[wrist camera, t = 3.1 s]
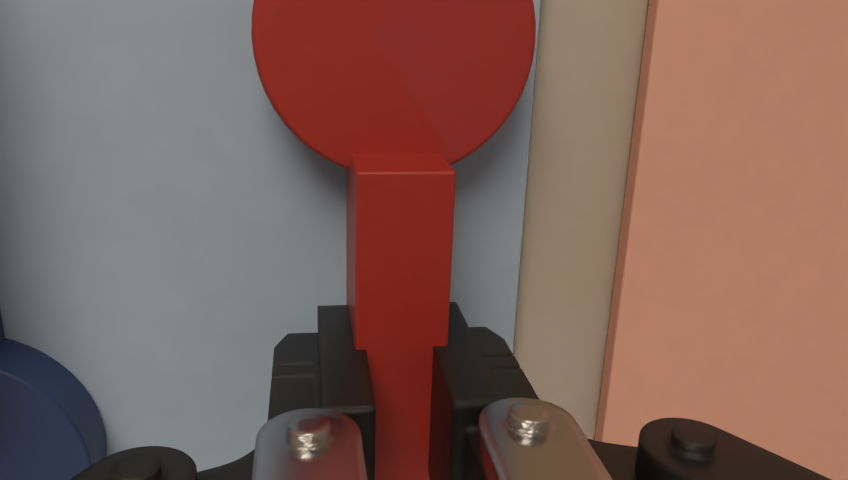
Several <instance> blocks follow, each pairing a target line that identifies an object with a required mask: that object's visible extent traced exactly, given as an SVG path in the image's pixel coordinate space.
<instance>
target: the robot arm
mask: <svg viewBox="0 0 848 480" xmlns="http://www.w3.org/2000/svg"><path fill="white" fill-rule="evenodd" d="M317 315H318V333H290V334H287V335H286V336H285V337H284V338H283V339H282V340H281V341H280V342H279V343H278V344H277V345H276V346H275V347H274V355H273V367H272V380H271V388H270V400H269V411H268V422H266V423H265V424H264V425H263V426H262V427H261V428H260V430H259V431H258V433H257V436H256V441H255V449H254V450H252V451H251V452H250V453H248V454H247V455H245V456H243V457H241V458H240V459H238V460H235V461H233V462H231V463H228V464H225V465H222V466H218V467H215V468H211V469H207V470H203V471H200V472H197V468H196V464H195V462H194V460H193V459H192V458H191V457H190V456H189V455H187V454H186V453H184V452H182V451H180V450H178V449H174V448H170V447H164V446H144V447H136V448H131V449H127V450H123V451H120V452H117V453H114V454H111V455H109V456H107V457H105V458H103V459H101V460H99V461H97V462H96V463H94V464H93V465H91V466H90V467H88V468H87V469H85V470H84V471H82V472H80V473H79V474H77V475H76V476H74V477H73V478H71V479H70V480H375V424H376V406H375V400H374V394H373V388H372V383H371V377H370V371H369V365H368V359H367V353H366V349H365V350H357V349H355V345H354V338H353V332H352V326H351V320H350V314H349V307H348V305H324V306H317ZM428 473H429V477H430V480H832V479H829V478H827V477H825V476H823V475H821V474H818V473H816V472H814V471H812V470H810V469H807V468H805V467H803V466H801V465H799V464H796V463H794V462H792V461H790V460H788V459H785V458H783V457H781V456H779V455H777V454H774V453H772V452H770V451H768V450H766V449H763V448H761V447H759V446H757V445H755V444H752V443H750V442H748V441H746V440H744V439H741V438H739V437H737V436H735V435H733V434H730V433H728V432H726V431H724V430H722V429H719V428H717V427H715V426H712V425H710V424H707V423H704V422H701V421H697V420H692V419H686V418H661V419H657V420H653V421H651V422H649V423H647V424H646V425H644V426H643V427H642V429H641V430H640V434H639V440H638V447H634V446H626V445H619V444H612V443H605V442H599V441H594V440H590V439H587V438H586V436H585V435H584V433H583V431H582V430H581V428H580V427H579V425H578V423H577V422H576V420H575V419H574V418H573V417H572V416H571V415H570V414H569V413H568V412H567V411H565V410H564V409H562V408H560V407H558V406H556V405H554V404H552V403H549V402H546V401H542V400H539V398H538V397H537V395H536V393H535V391H534V390H533V388H532V386H531V384H530V383H529V381H528V379H527V378H526V376H525V374H524V372H523V371H522V369H520V366H519V364H518V362H517V360H516V359H515V357H514V356H513V353H512V352H511V350H510V348H509V347H508V345H507V343H506V341H505V340H504V339H503V338H502V337H500V336H499V335H497V334H496V333H494V332H493V331H491V330H490V329H488V328H487V327H468V325H467V323H466V321H465V319H464V317H463V315H462V313H461V311H460V309H459V307H458V304H457V303H456V302H450V309H449V329H448V345H447V346H435V347H433V363H432V387H431V410H430V434H429V457H428Z"/></svg>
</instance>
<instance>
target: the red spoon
mask: <svg viewBox="0 0 848 480" xmlns="http://www.w3.org/2000/svg"><path fill="white" fill-rule="evenodd" d="M251 36H252V46H253V55H254V59H255V63H256V67H257V72H258V75H259V78H260V80H261V83H262V86H263V88H264V91H265V93H266V95H267V97H268V99H269V101H270V103H271V104H272V106H273V108H274V110H275V111H276V113H277V114H278V115H279V117H280V118H281V120H282V121H283V123H284V124H285V125H286V126H287V127H288V128H289V130H290V131H291V132H292V133H293V134H294V135H295V136H296V137H297V138H298V139H299V140H300V141H301V142H302V143H304V144H305V145H306V146H307V147H308V148H310V149H311V150H312V151H314V152H315V153H317V154H318V155H320V156H321V157H323V158H324V159H326V160H328V161H330V162H332V163H334V164H336V165H338V166H340V167H342V168H345V169H346V305H348V307H349V314H350V320H351V326H352V332H353V338H354V345H355V349H357V350H365V349H366V353H367V359H368V365H369V371H370V377H371V383H372V388H373V394H374V400H375V406H376V424H375V480H430V477H429V473H428V457H429V434H430V410H431V387H432V363H433V347H435V346H447V345H448V329H449V309H450V288H451V268H452V248H453V227H454V207H455V187H456V172H455V171H454V170H453V169H452V167H451V166H450V165H452V164H454V163H457V162H459V161H461V160H462V159H464V158H466V157H467V156H469V155H470V154H472V153H473V152H475V151H476V150H478V149H479V148H480V147H481V146H482V145H483V144H485V143H486V142H487V141H488V140H489V139H490V138H491V137H492V136H493V135H494V134H495V133H496V132H497V131H498V130H499V129H500V128H501V127H502V125H503V124H504V123H505V121H506V120H507V118H508V117H509V116H510V114H511V113H512V111H513V110H514V108H515V106H516V104H517V102H518V101H519V99H520V97H521V95H522V92H523V90H524V87H525V85H526V82H527V80H528V77H529V73H530V70H531V66H532V62H533V56H534V49H535V42H536V19H535V9H534V2H533V0H254V3H253V10H252V26H251Z"/></svg>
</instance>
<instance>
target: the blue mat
mask: <svg viewBox="0 0 848 480" xmlns="http://www.w3.org/2000/svg"><path fill="white" fill-rule="evenodd" d="M533 2H534V9H535V19H536V42H535V49H534V56H533V62H532V66H531V70H530V73H529V77H528V80H527V82H526V85H525V87H524V90H523V92H522V95H521V97H520V99H519V101H518V102H517V104H516V106H515V108H514V110H513V111H512V113H511V114H510V116H509V117H508V118H507V120H506V121H505V123H504V124H503V125H502V127H501V128H500V129H499V130H498V131H497V132H496V133H495V134H494V135H493V136H492V137H491V138H490V139H489V140H488V141H487V142H486V143H485V144H483V145H482V146H481V147H480V148H479V149H478V150H476V151H475V152H473V153H472V154H470V155H469V156H467V157H466V158H464V159H462V160H461V161H459V162H457V163H454V164H452V165H450V166H451V167H452V169H453V170H454V171H455V172H456V187H455V207H454V227H453V248H452V268H451V288H450V302H456V303H457V304H458V307H459V309H460V311H461V313H462V315H463V317H464V319H465V321H466V323H467V325H468V327H487V328H488V329H490V330H491V331H493V332H494V333H496V334H497V335H499V336H500V337H502V338H503V339H504V340H505V341H506V343H507V345H508V347H509V348H510V350H511V352H512V353H513V346H514V334H515V321H516V309H517V296H518V284H519V271H520V259H521V246H522V234H523V221H524V209H525V196H526V184H527V171H528V159H529V147H530V134H531V122H532V109H533V97H534V84H535V72H536V59H537V47H538V34H539V22H540V9H541V0H533ZM253 3H254V0H0V311H1V317H2V323H3V330H4V336H5V338H7V339H11V340H14V341H17V342H20V343H23V344H26V345H28V346H31V347H33V348H35V349H37V350H39V351H41V352H43V353H45V354H47V355H48V356H50V357H51V358H53V359H54V360H56V361H58V362H59V363H60V364H61V365H63V366H64V367H65V368H66V369H68V370H69V371H70V372H71V373H72V374H73V375H74V376H75V377H76V378H77V379H78V380H79V381H80V382H81V383H82V384H83V386H84V387H85V388H86V390H87V391H88V392H89V394H90V395H91V397H92V399H93V400H94V402H95V404H96V406H97V408H98V410H99V413H100V416H101V418H102V421H103V425H104V430H105V435H106V457H107V456H109V455H111V454H114V453H117V452H120V451H123V450H127V449H131V448H136V447H144V446H164V447H170V448H174V449H178V450H180V451H182V452H184V453H186V454H187V455H189V456H190V457H191V458H192V459H193V460H194V462H195V464H196V468H197V472H200V471H203V470H207V469H211V468H215V467H218V466H222V465H225V464H228V463H231V462H233V461H235V460H238V459H240V458H241V457H243V456H245V455H247V454H248V453H250V452H251V451H252V450H254V449H255V441H256V436H257V433H258V431H259V430H260V428H261V427H262V426H263V425H264V424H265V423H266V422H268V411H269V400H270V388H271V380H272V367H273V355H274V347H275V346H276V345H277V344H278V343H279V342H280V341H281V340H282V339H283V338H284V337H285V336H286V335H287V334H290V333H318V315H317V306H324V305H346V169H345V168H342V167H340V166H338V165H336V164H334V163H332V162H330V161H328V160H326V159H324V158H323V157H321V156H320V155H318V154H317V153H315V152H314V151H312V150H311V149H310V148H308V147H307V146H306V145H305V144H304V143H302V142H301V141H300V140H299V139H298V138H297V137H296V136H295V135H294V134H293V133H292V132H291V131H290V130H289V128H288V127H287V126H286V125H285V124H284V123H283V121H282V120H281V118H280V117H279V115H278V114H277V113H276V111H275V110H274V108H273V106H272V104H271V103H270V101H269V99H268V97H267V95H266V93H265V91H264V88H263V86H262V83H261V80H260V78H259V75H258V72H257V67H256V63H255V59H254V55H253V46H252V36H251V26H252V10H253Z"/></svg>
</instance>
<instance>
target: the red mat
mask: <svg viewBox="0 0 848 480" xmlns="http://www.w3.org/2000/svg"><path fill="white" fill-rule="evenodd" d="M661 418H686V419H692V420H697V421H701V422H704V423H707V424H710V425H712V426H715V427H717V428H719V429H722V430H724V431H726V432H728V433H730V434H733V435H735V436H737V437H739V438H741V439H744V440H746V441H748V442H750V443H752V444H755V445H757V446H759V447H761V448H763V449H766V450H768V451H770V452H772V453H774V454H777V455H779V456H781V457H783V458H785V459H788V460H790V461H792V462H794V463H796V464H799V465H801V466H803V467H805V468H807V469H810V470H812V471H814V472H816V473H818V474H821V475H823V476H825V477H827V478H829V479H832V480H848V0H649V6H648V14H647V22H646V30H645V38H644V47H643V55H642V63H641V71H640V79H639V87H638V95H637V103H636V111H635V119H634V127H633V135H632V143H631V151H630V159H629V167H628V176H627V184H626V192H625V200H624V208H623V216H622V224H621V232H620V240H619V248H618V256H617V264H616V272H615V280H614V288H613V296H612V305H611V313H610V321H609V329H608V337H607V345H606V353H605V361H604V369H603V377H602V385H601V393H600V401H599V409H598V417H597V425H596V434H595V441H599V442H605V443H612V444H619V445H626V446H634V447H638V440H639V434H640V430H641V429H642V427H643V426H644V425H646V424H647V423H649V422H651V421H653V420H657V419H661Z"/></svg>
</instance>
